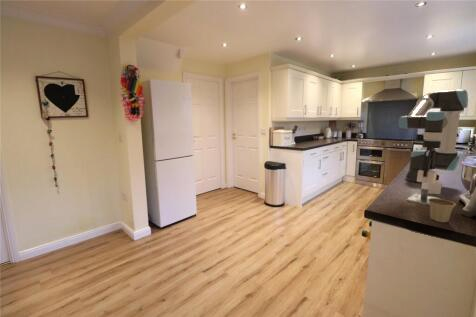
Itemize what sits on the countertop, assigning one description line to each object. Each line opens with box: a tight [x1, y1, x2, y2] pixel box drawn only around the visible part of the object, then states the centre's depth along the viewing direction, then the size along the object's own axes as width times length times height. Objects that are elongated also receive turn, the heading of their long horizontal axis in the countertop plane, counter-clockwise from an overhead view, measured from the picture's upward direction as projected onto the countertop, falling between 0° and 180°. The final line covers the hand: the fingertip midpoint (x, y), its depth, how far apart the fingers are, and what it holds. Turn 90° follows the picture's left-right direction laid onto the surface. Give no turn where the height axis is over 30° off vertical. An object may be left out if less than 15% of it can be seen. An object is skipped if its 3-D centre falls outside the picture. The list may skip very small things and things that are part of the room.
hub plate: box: [406, 189, 442, 207], centre depth 130 cm, size 16×12×6 cm
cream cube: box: [416, 170, 438, 184], centre depth 128 cm, size 7×7×7 cm
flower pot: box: [428, 197, 457, 223], centre depth 105 cm, size 9×9×9 cm
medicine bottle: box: [420, 173, 443, 195], centre depth 145 cm, size 7×7×12 cm
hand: (426, 181), depth 129 cm, fingers closed on cream cube, 7 cm apart
